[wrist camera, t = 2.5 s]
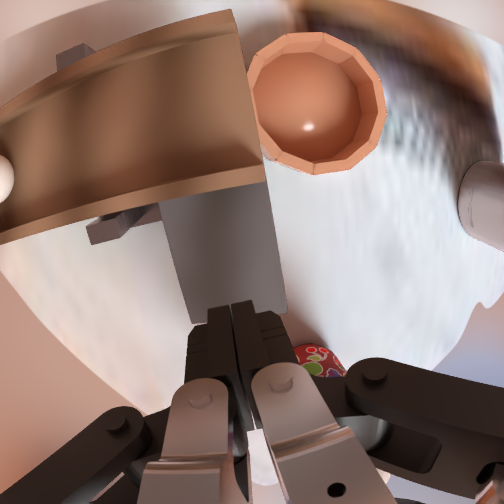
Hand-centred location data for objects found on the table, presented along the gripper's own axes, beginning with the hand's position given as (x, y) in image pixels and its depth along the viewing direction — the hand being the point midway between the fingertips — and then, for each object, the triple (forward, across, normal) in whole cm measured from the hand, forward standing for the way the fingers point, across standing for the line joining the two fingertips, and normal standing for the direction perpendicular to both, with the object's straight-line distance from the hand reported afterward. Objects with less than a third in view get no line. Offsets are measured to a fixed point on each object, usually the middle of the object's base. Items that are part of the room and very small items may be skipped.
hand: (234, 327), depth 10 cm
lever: (+12, +6, -4) cm, 14 cm away
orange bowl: (+16, -9, -8) cm, 20 cm away
